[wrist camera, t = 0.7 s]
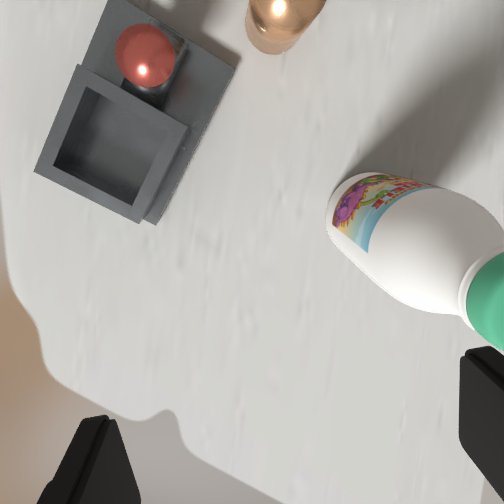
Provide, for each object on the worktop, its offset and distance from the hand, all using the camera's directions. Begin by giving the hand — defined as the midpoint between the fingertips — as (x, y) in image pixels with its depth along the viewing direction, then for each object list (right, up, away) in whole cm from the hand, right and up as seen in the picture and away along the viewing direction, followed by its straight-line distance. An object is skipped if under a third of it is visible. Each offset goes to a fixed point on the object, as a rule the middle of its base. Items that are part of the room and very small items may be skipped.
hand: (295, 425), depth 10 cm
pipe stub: (+1, +22, +19) cm, 30 cm away
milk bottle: (+9, +8, +25) cm, 28 cm away
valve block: (-10, +15, +21) cm, 28 cm away
